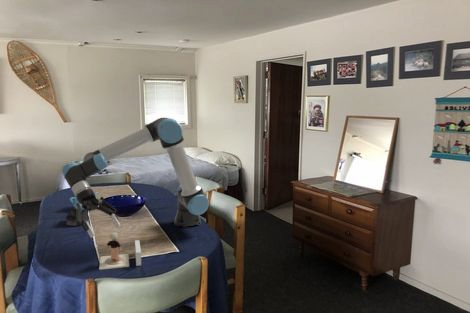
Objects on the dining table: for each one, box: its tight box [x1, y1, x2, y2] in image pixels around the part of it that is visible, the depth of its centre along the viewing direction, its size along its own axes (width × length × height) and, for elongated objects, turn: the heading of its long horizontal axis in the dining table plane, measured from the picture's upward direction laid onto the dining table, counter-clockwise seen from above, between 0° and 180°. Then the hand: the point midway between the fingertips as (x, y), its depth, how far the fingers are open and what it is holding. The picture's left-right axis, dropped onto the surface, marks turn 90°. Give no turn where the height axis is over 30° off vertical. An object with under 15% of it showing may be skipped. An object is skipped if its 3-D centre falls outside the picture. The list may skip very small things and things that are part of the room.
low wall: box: [134, 239, 142, 267], centre depth 159 cm, size 2×14×6 cm, turn 18°
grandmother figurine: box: [106, 232, 122, 262], centre depth 155 cm, size 8×4×13 cm, turn 83°
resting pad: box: [98, 253, 130, 271], centre depth 156 cm, size 12×12×1 cm
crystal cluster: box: [65, 208, 90, 227], centre depth 202 cm, size 13×14×10 cm
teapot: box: [69, 191, 99, 212], centre depth 226 cm, size 13×14×11 cm
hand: (106, 231), depth 156 cm, fingers open, 13 cm apart
